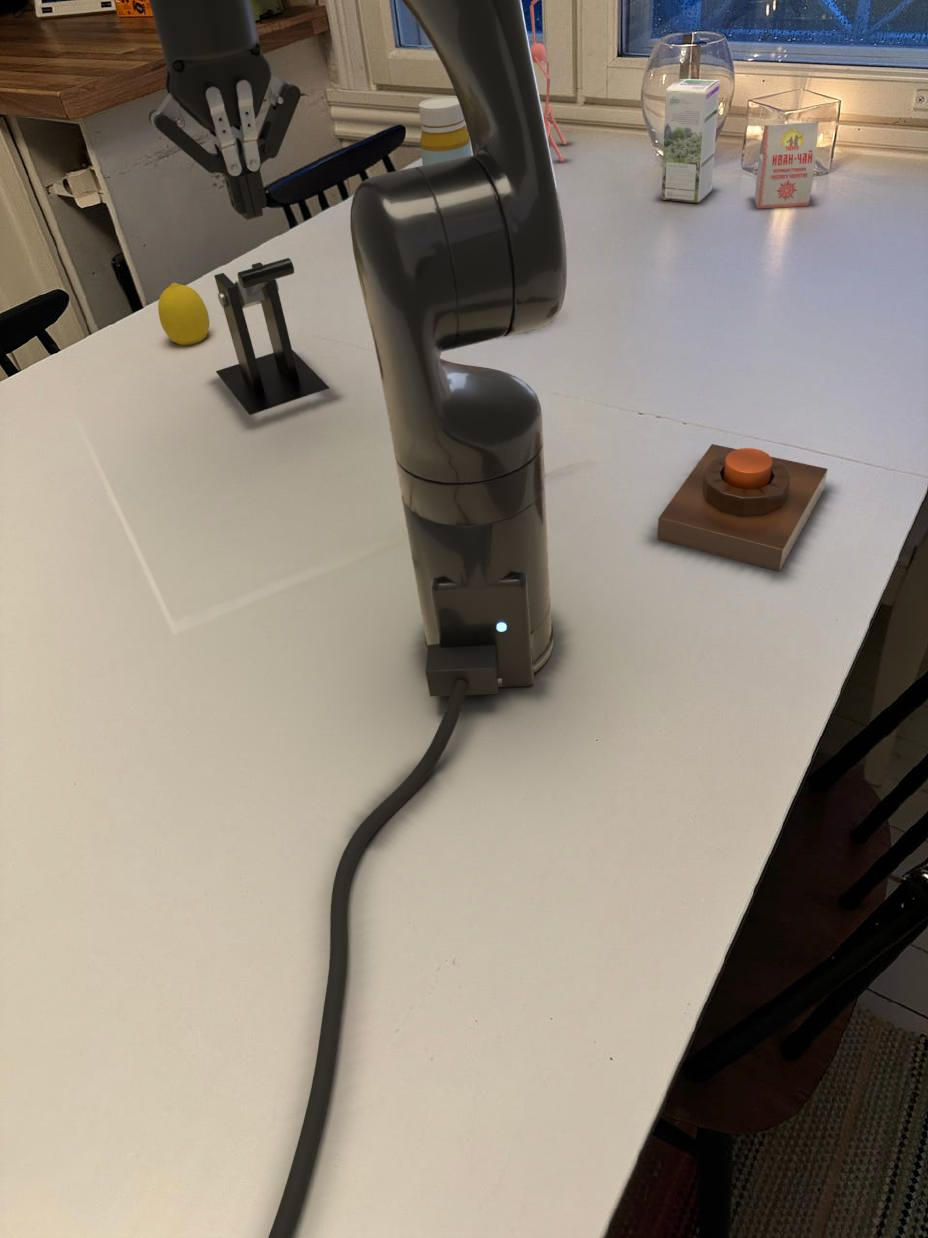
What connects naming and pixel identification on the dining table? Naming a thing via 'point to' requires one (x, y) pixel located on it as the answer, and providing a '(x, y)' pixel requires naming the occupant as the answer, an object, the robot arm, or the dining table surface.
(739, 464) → the button
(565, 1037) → the dining table surface
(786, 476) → the button box
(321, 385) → the bracket
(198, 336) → the lemon
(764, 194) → the tea box
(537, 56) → the figurine
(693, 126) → the syrup box
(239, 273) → the lever
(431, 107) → the bottle
